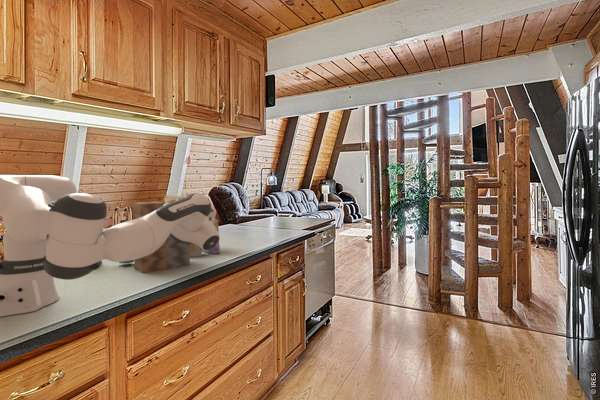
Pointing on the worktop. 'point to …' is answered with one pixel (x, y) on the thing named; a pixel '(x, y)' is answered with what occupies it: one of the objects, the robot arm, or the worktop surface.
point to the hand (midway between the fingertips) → (182, 199)
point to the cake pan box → (216, 248)
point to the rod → (172, 198)
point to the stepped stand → (168, 253)
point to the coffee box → (195, 250)
